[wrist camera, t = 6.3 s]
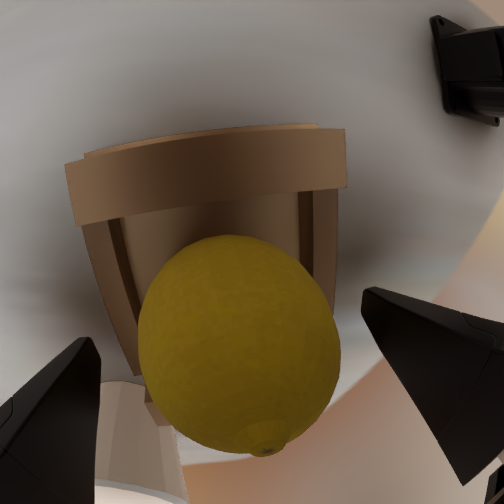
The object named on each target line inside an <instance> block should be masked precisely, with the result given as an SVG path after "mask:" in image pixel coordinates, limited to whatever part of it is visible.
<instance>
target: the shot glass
mask: <svg viewBox="0 0 504 504" xmlns="http://www.w3.org/2000/svg"><path fill="white" fill-rule="evenodd" d="M144 399H145V387H144V386H142V385H138V384H134V383H129V382H125V381H110V382H104V383H101V384H100V408H99V417H98V428H97V440H96V456H95V504H190V503H189V498H188V494H187V490H186V486H185V482H184V477H183V472H182V467H181V462H180V457H179V452H178V447H177V441H176V435H175V429H174V427H173V426H172V425H169V426H157V425H156V423H155V421H154V420H153V418H152V416H151V414H150V413H149V411H148V409H147V407H146V405H145V404H144Z"/></svg>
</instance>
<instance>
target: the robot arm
mask: <svg viewBox="0 0 504 504" xmlns="http://www.w3.org/2000/svg"><path fill="white" fill-rule="evenodd" d="M431 20H432V25H433V29H434V34H435V39H436V44H437V49H438V55H439V62H440V68H441V76H442V84H443V94H444V105H445V109H446V111H447V113H449V114H451V115H455V116H459V117H463V118H467V119H470V120H474V121H477V122H481V123H484V124H487V125H491V126H495V127H498V126H499V123H500V120H499V117H501V118H504V26H496V27H488V28H481V29H474V30H468V31H467V30H466V29H464V28H462V27H461V26H459V25H457V24H455V23H453V22H451V21H449V20H448V19H446V18H444V17H442V16H440V15H436V16H433V17H432V18H431ZM361 314H362V317H363V319H364V321H365V323H366V324H367V326H368V328H369V330H370V332H371V334H372V336H373V338H374V340H375V342H376V344H377V345H378V347H379V349H380V350H381V352H382V354H383V355H384V357H385V358H386V360H387V361H388V363H389V364H390V366H391V367H392V369H393V370H394V372H395V373H396V375H397V376H398V378H399V380H400V381H401V383H402V384H403V386H404V387H405V389H406V390H407V392H408V394H409V395H410V397H411V398H412V400H413V402H414V403H415V405H416V406H417V408H418V410H419V411H420V413H421V415H422V416H423V418H424V419H425V421H426V423H427V425H428V426H429V428H430V430H431V431H432V433H433V435H434V436H435V438H436V440H438V443H439V445H440V447H441V449H442V450H443V452H444V454H445V455H446V457H447V459H448V461H449V463H450V464H451V466H452V468H453V470H454V471H455V473H456V475H457V477H458V479H459V481H460V483H461V484H462V486H464V485H465V484H467V483H468V482H469V481H471V480H472V479H473V478H474V477H475V476H476V475H478V474H479V473H480V472H481V471H482V470H483V469H484V468H486V467H487V466H488V465H489V464H490V463H491V462H492V461H493V460H494V459H495V458H496V457H498V458H499V459H500V461H501V462H502V463H503V464H502V465H501V466H500V467H499V468H498V469H497V470H496V471H495V472H494V473H493V474H491V475H490V477H489V481H488V486H487V492H486V497H485V502H484V504H504V323H501V322H497V321H492V320H488V319H484V318H480V317H477V316H473V315H469V314H466V313H461V312H459V311H456V310H453V309H449V308H446V307H442V306H439V305H436V304H433V303H429V302H426V301H423V300H419V299H416V298H412V297H409V296H406V295H402V294H399V293H396V292H392V291H389V290H385V289H382V288H379V287H370V288H366V289H365V290H364V291H363V296H362V304H361ZM100 384H101V358H100V355H99V353H98V351H97V349H96V347H95V345H94V343H93V340H92V339H91V338H90V337H80V338H78V339H76V340H75V341H74V342H73V343H72V344H71V345H69V346H68V347H67V348H66V349H65V350H63V351H62V352H61V353H60V354H59V355H58V356H56V357H55V358H54V359H53V360H52V361H51V362H50V363H48V364H47V365H46V366H45V367H44V368H43V369H42V370H40V371H39V372H38V373H37V374H36V375H35V376H34V377H33V378H31V379H30V380H29V381H28V382H27V383H26V384H25V385H24V386H22V387H21V388H20V389H19V390H18V391H17V392H16V393H15V394H14V395H13V397H10V398H9V399H8V400H7V401H6V402H5V403H4V404H3V405H2V406H1V407H0V504H95V456H96V440H97V428H98V417H99V408H100Z"/></svg>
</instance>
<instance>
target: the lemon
mask: <svg viewBox="0 0 504 504" xmlns="http://www.w3.org/2000/svg"><path fill="white" fill-rule="evenodd" d="M138 354H139V362H140V367H141V372H142V375H143V378H144V381H145V384H146V386H147V388H148V391H149V393H150V395H151V398H152V400H153V402H154V404H155V406H156V407H157V409H158V410H159V411H160V412H161V414H162V415H163V416H164V417H165V418H166V419H167V421H168V422H169V423H170V424H171V425H172V426H173V427H174V428H175V429H176V430H178V431H179V432H180V433H182V434H183V435H185V436H186V437H188V438H190V439H191V440H193V441H195V442H197V443H199V444H201V445H203V446H206V447H209V448H212V449H215V450H219V451H223V452H229V453H238V454H243V453H250V454H251V455H253V456H257V457H264V456H270V455H273V454H275V453H278V452H279V451H280V450H282V449H283V448H284V446H285V445H286V443H288V442H290V441H292V440H294V439H295V438H297V437H298V436H300V435H301V434H302V433H303V432H305V431H306V430H307V429H308V428H309V427H310V426H311V425H312V424H313V423H314V422H316V420H317V419H318V418H319V416H320V415H321V414H322V412H323V411H324V409H325V408H326V407H327V405H328V404H329V402H330V400H331V397H332V395H333V392H334V390H335V387H336V384H337V382H338V379H339V373H340V360H341V349H340V339H339V335H338V331H337V328H336V325H335V322H334V319H333V316H332V313H331V310H330V307H329V304H328V302H327V300H326V297H325V295H324V294H323V292H322V290H321V288H320V287H319V286H318V284H317V283H316V282H315V280H314V279H313V278H312V277H311V275H310V274H309V273H308V272H307V270H306V269H305V268H304V267H303V266H302V265H301V264H300V263H299V262H298V261H297V260H296V259H294V258H293V257H292V256H290V255H289V254H287V253H286V252H284V251H283V250H281V249H280V248H278V247H277V246H275V245H273V244H271V243H268V242H265V241H262V240H260V239H257V238H254V237H251V236H242V235H228V234H225V235H220V236H214V237H209V238H204V239H202V240H200V241H197V242H195V243H193V244H190V245H188V246H186V247H184V248H183V249H182V250H181V251H179V252H178V253H177V254H176V255H174V256H173V257H172V258H171V259H169V260H168V261H167V262H166V263H165V264H164V266H163V267H162V268H161V270H160V271H159V273H158V274H157V275H156V277H155V278H154V280H153V281H152V282H151V284H150V286H149V288H148V290H147V293H146V296H145V299H144V302H143V305H142V308H141V311H140V315H139V321H138Z"/></svg>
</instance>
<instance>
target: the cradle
mask: <svg viewBox="0 0 504 504" xmlns="http://www.w3.org/2000/svg"><path fill="white" fill-rule="evenodd" d="M64 165H65V172H66V178H67V183H68V189H69V194H70V199H71V204H72V209H73V214H74V218H75V222H76V226H82V230H83V234H84V238H85V242H86V246H87V250H88V253H89V257H90V260H91V264H92V267H93V270H94V274H95V277H96V280H97V283H98V286H99V289H100V292H101V295H102V298H103V301H104V304H105V306H106V309H107V312H108V315H109V317H110V320H111V323H112V325H113V328H114V330H115V333H116V335H117V338H118V340H119V342H120V345H121V347H122V350H123V352H124V354H125V356H126V359H127V361H128V363H129V365H130V367H131V370H132V372H133V374H134V376H138V375H142V372H141V367H140V362H139V354H138V321H139V315H140V311H141V308H142V305H143V302H144V299H145V296H146V293H147V290H148V288H149V286H150V284H151V282H152V281H153V280H154V278H155V277H156V275H157V274H158V273H159V271H160V270H161V268H162V267H163V266H164V264H165V263H166V262H167V261H168V260H169V259H171V258H172V257H173V256H174V255H176V254H177V253H178V252H179V251H181V250H182V249H183V248H184V247H186V246H188V245H190V244H193V243H195V242H197V241H200V240H202V239H204V238H209V237H214V236H220V235H225V234H228V235H242V236H251V237H254V238H257V239H260V240H262V241H265V242H268V243H271V244H273V245H275V246H277V247H278V248H280V249H281V250H283V251H284V252H286V253H287V254H289V255H290V256H292V257H293V258H294V259H296V260H297V261H298V262H299V263H300V264H301V265H302V266H303V267H304V268H305V269H306V270H307V272H308V273H309V274H310V275H311V277H312V278H313V279H314V280H315V282H316V283H317V284H318V286H319V287H320V288H321V290H322V292H323V294H324V295H325V297H326V300H327V302H328V304H329V307H330V310H331V313H332V316H333V313H334V299H335V284H336V265H337V238H338V188H347V179H346V142H345V129H318V124H282V125H262V126H247V127H235V128H224V129H215V130H206V131H198V132H190V133H183V134H177V135H170V136H164V137H158V138H153V139H147V140H142V141H137V142H132V143H127V144H122V145H118V146H113V147H109V148H105V149H101V150H97V151H93V152H89V153H85V154H84V159H82V160H78V161H75V162H71V163H68V164H64ZM144 404H145V405H146V407H147V409H148V411H149V413H150V414H151V416H152V418H153V420H154V421H155V423H156V425H157V426H169V425H171V424H170V423H169V422H168V421H167V419H166V418H165V417H164V416H163V415H162V414H161V412H160V411H159V410H158V409H157V407H156V406H155V404H154V402H153V400H152V398H151V395H150V393H149V391H148V388H147V386H145V399H144Z"/></svg>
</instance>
